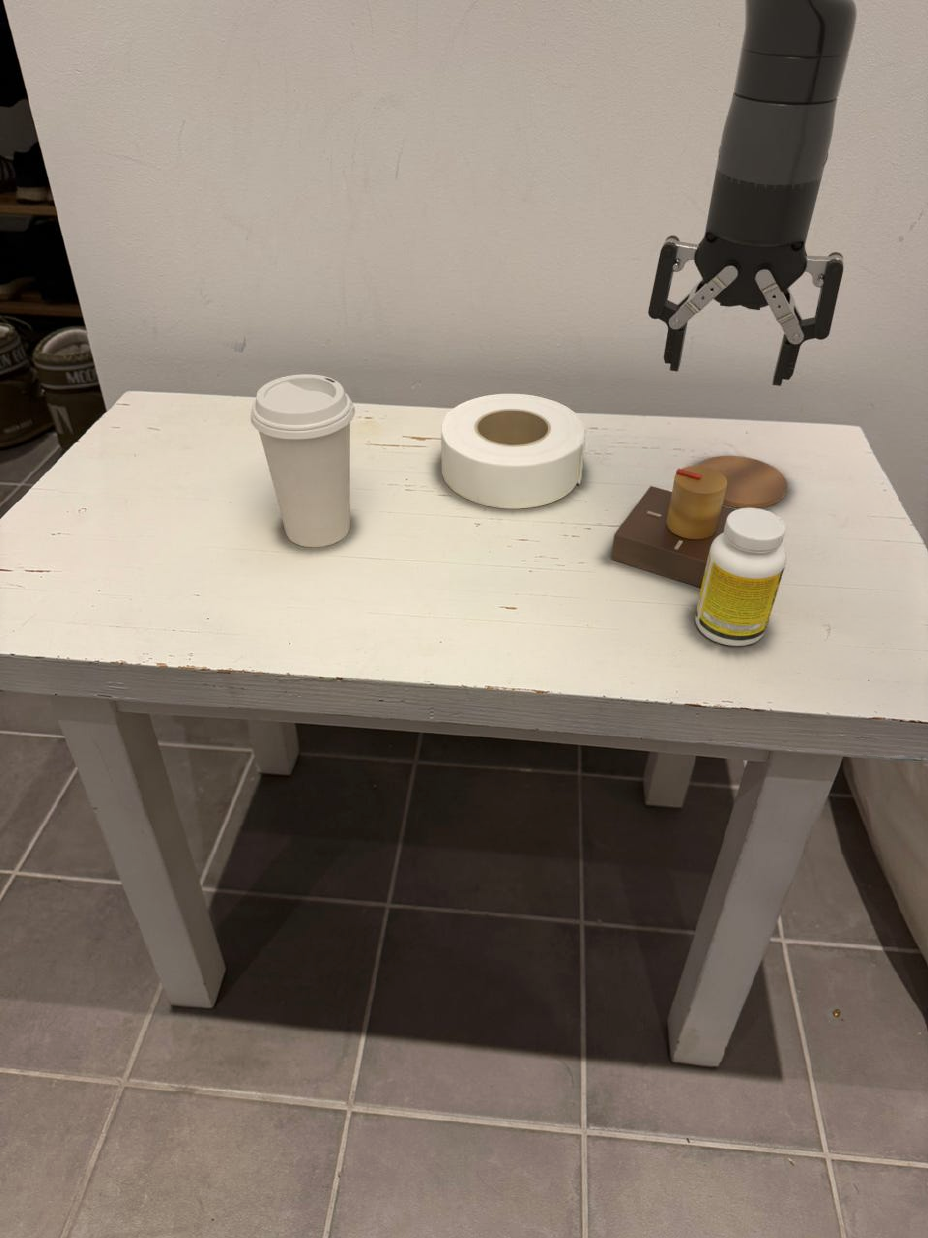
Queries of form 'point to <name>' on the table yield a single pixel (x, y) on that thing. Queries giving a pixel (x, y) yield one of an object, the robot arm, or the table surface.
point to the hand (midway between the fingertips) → (725, 374)
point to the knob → (696, 502)
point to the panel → (662, 541)
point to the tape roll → (512, 450)
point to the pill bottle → (742, 578)
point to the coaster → (748, 481)
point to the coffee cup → (308, 454)
